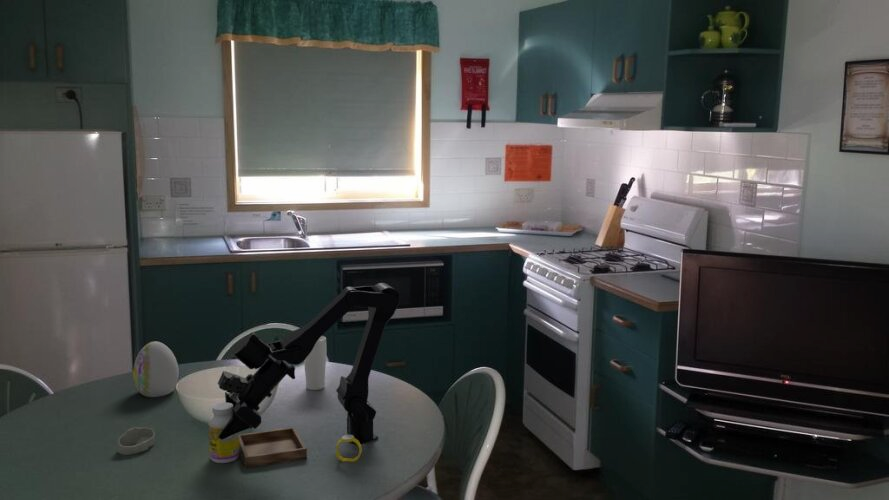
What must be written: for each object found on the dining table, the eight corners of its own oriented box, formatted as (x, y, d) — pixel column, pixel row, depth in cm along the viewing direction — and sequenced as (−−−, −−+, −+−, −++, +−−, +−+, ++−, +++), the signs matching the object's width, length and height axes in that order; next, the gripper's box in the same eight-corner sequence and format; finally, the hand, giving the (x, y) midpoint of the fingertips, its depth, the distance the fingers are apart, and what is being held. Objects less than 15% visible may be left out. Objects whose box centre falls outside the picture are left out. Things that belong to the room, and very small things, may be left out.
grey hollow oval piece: (146, 439, 203) (145, 420, 202) (161, 446, 200) (160, 426, 199) (112, 451, 196) (111, 432, 195) (127, 458, 192) (126, 438, 191)
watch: (335, 464, 191) (333, 439, 190) (337, 459, 193) (335, 435, 192) (361, 462, 190) (359, 438, 189) (363, 457, 193) (360, 433, 192)
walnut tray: (294, 436, 205) (294, 427, 205) (306, 458, 192) (306, 448, 192) (237, 444, 200) (236, 434, 200) (245, 468, 187) (245, 457, 187)
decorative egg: (135, 387, 240) (132, 337, 237) (179, 383, 243) (177, 334, 241) (133, 401, 228) (129, 349, 226) (179, 397, 232) (176, 346, 229)
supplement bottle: (208, 455, 194) (205, 403, 192) (236, 450, 197) (234, 399, 195) (212, 466, 188) (210, 412, 186) (242, 461, 191) (240, 408, 189)
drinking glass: (325, 392, 237) (324, 341, 235) (301, 391, 237) (300, 341, 235) (328, 384, 244) (328, 335, 241) (306, 383, 244) (304, 334, 241)
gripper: (233, 348, 199) (187, 398, 196) (244, 372, 181) (194, 426, 179) (267, 376, 203) (222, 425, 201) (281, 401, 186) (233, 455, 184)
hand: (217, 431), depth 191 cm, fingers open, 8 cm apart
